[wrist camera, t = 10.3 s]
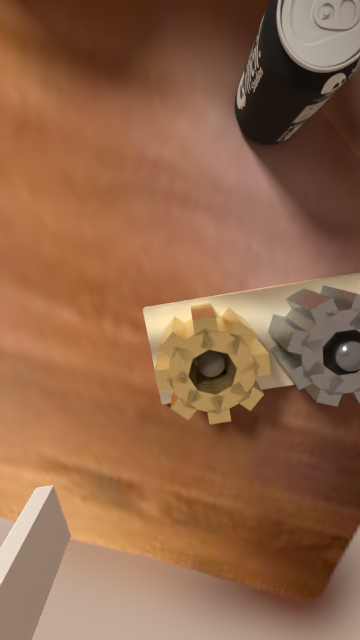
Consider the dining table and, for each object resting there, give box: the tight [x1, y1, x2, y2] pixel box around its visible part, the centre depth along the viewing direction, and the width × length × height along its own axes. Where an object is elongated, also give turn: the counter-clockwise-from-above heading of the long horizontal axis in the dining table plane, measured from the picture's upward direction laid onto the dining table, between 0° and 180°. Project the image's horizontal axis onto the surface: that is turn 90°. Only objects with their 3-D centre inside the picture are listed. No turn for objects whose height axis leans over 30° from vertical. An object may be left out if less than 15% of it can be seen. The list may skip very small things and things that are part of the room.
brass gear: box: [154, 303, 271, 424], centre depth 29 cm, size 10×10×6 cm
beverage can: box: [235, 0, 360, 145], centre depth 22 cm, size 7×7×12 cm
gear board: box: [143, 272, 360, 404], centre depth 30 cm, size 11×23×5 cm, turn 100°
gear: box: [268, 285, 360, 407], centre depth 28 cm, size 10×10×7 cm
